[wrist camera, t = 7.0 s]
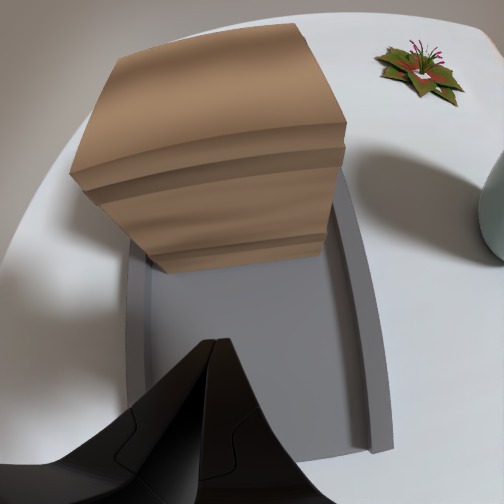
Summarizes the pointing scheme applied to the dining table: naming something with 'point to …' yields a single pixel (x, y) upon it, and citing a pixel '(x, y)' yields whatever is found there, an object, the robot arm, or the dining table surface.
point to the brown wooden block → (217, 149)
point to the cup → (493, 209)
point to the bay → (277, 337)
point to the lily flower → (421, 72)
